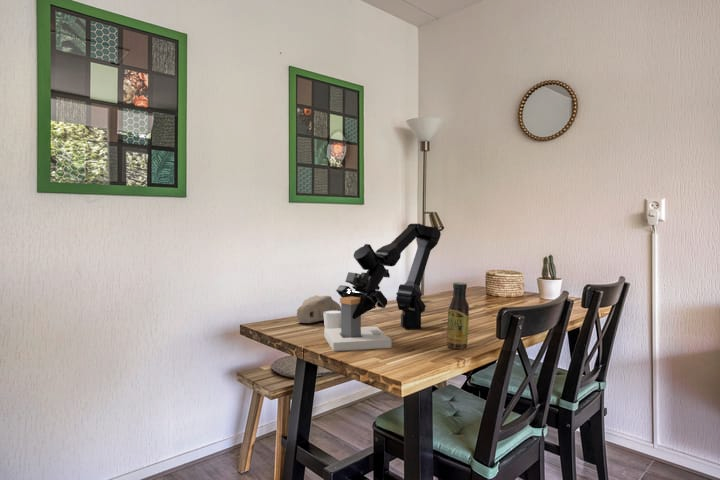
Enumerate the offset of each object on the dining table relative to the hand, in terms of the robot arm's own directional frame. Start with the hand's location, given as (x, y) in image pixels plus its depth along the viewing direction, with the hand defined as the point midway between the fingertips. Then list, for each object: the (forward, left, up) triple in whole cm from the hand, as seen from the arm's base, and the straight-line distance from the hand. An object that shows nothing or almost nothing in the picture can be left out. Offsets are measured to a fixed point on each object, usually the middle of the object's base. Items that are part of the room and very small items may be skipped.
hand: (347, 317), depth 142 cm
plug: (-1, -1, -7) cm, 7 cm away
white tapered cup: (+2, -17, -9) cm, 19 cm away
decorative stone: (+5, -35, -9) cm, 36 cm away
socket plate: (-3, -2, -8) cm, 9 cm away
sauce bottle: (-32, +11, -9) cm, 35 cm away
